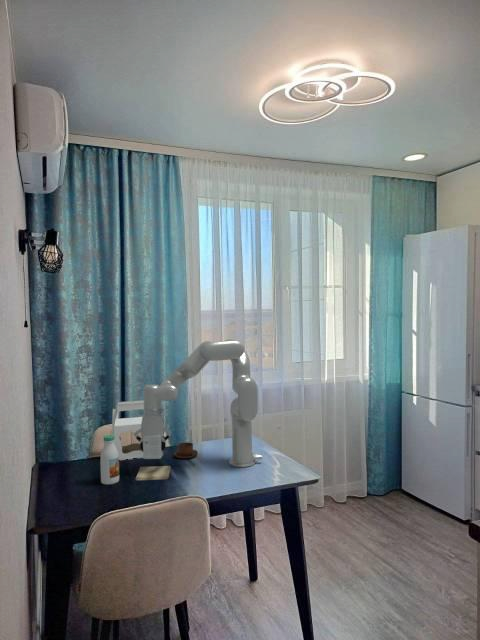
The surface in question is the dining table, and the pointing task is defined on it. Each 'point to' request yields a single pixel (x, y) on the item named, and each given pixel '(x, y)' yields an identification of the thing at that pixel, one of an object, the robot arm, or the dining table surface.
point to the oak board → (153, 473)
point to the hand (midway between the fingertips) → (153, 450)
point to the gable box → (127, 429)
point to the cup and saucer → (185, 450)
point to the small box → (152, 447)
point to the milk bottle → (109, 461)
